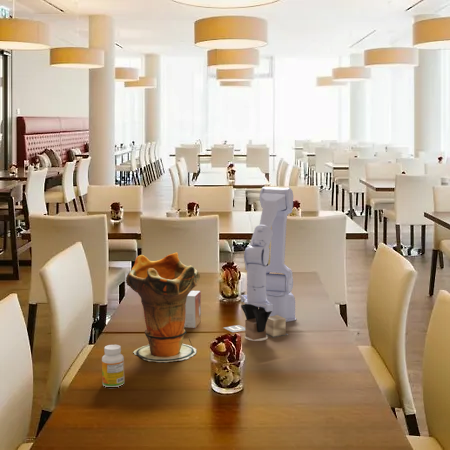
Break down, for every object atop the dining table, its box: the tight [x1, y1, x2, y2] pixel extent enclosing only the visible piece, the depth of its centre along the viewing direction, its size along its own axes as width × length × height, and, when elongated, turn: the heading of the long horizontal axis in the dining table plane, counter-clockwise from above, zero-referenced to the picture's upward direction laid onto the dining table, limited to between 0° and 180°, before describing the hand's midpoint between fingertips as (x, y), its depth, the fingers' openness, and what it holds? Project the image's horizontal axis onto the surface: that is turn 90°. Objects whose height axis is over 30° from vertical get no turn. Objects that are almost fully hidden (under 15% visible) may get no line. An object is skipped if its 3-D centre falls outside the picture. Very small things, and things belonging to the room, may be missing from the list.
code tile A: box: [223, 324, 245, 333], centre depth 220 cm, size 6×6×1 cm
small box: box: [184, 290, 202, 329], centre depth 224 cm, size 8×6×10 cm
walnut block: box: [244, 318, 266, 340], centre depth 210 cm, size 4×4×5 cm
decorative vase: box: [125, 251, 201, 363], centre depth 195 cm, size 21×23×28 cm
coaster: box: [244, 335, 269, 342], centre depth 210 cm, size 7×7×1 cm
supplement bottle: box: [101, 344, 125, 388], centre depth 172 cm, size 5×5×10 cm
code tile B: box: [266, 333, 289, 339], centre depth 214 cm, size 6×6×1 cm
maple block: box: [266, 315, 287, 338], centre depth 214 cm, size 4×4×5 cm
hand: (256, 329), depth 210 cm, fingers closed on walnut block, 4 cm apart
